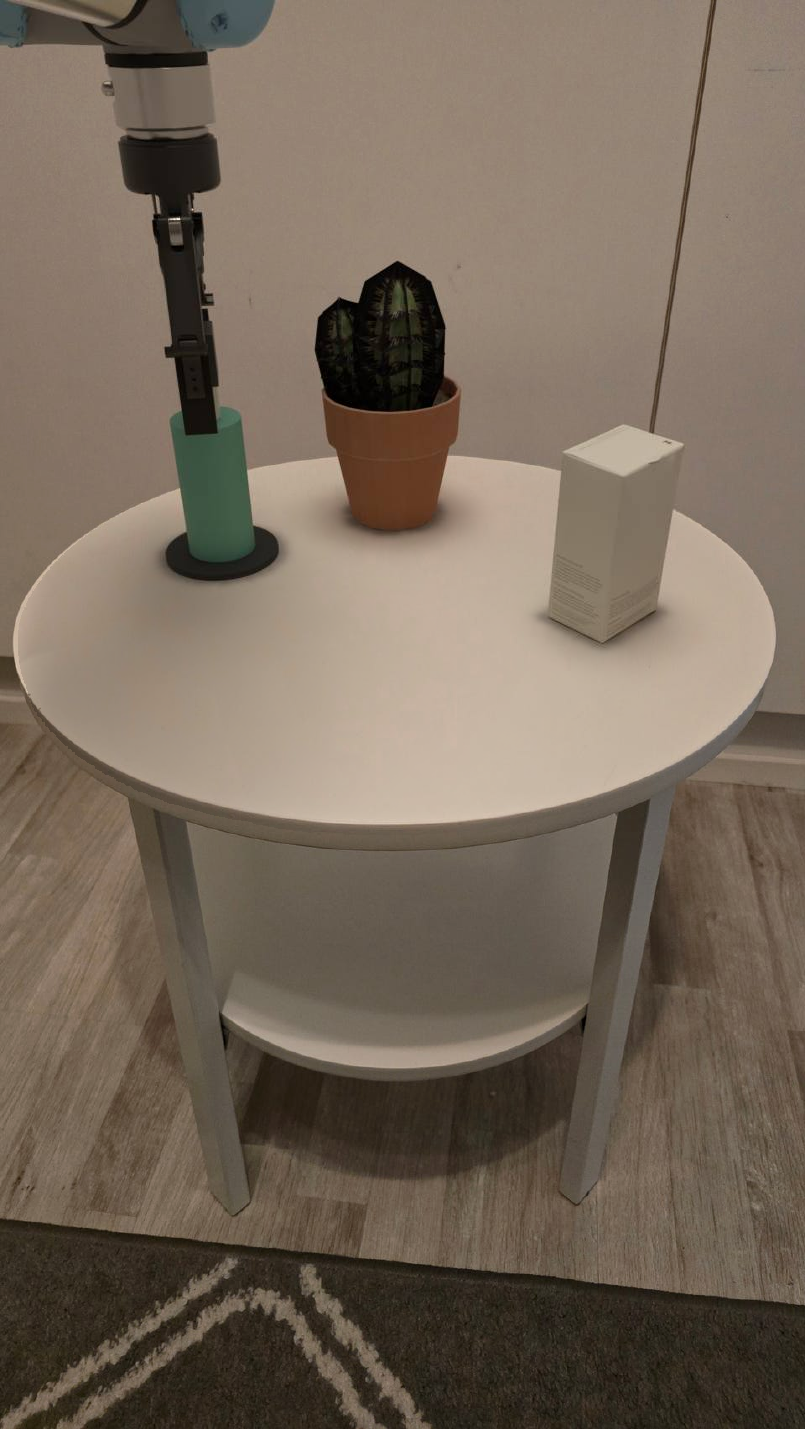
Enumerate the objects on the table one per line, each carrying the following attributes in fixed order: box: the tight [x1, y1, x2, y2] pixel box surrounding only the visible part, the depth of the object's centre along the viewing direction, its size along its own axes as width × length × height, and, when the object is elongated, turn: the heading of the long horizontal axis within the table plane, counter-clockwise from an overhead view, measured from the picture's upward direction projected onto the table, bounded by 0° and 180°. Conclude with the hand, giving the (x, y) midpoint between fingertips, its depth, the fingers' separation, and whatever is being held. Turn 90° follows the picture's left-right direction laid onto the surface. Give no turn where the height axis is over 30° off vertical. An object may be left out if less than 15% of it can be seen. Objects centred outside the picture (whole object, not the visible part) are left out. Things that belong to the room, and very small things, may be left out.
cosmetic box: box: [547, 424, 685, 644], centre depth 82 cm, size 8×7×16 cm
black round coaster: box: [164, 524, 280, 581], centre depth 97 cm, size 11×11×1 cm
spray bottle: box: [169, 320, 255, 563], centre depth 90 cm, size 7×6×21 cm
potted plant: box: [314, 260, 462, 531], centre depth 96 cm, size 14×14×25 cm
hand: (201, 406), depth 88 cm, fingers open, 13 cm apart
